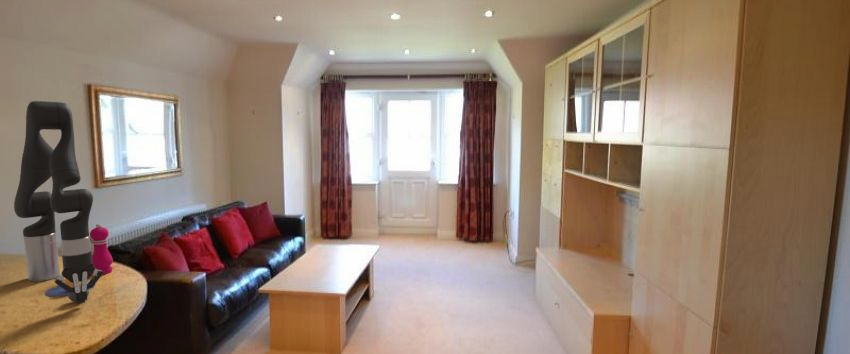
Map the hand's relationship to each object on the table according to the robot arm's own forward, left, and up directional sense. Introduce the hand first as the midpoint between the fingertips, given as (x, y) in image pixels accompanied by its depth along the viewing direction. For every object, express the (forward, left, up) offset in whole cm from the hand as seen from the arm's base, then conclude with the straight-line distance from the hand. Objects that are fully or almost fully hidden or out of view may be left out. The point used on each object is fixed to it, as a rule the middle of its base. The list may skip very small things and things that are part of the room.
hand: (81, 302), depth 142 cm
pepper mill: (-30, +19, -2) cm, 35 cm away
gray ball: (-5, +1, +1) cm, 6 cm away
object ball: (-17, +4, +1) cm, 18 cm away
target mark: (-20, +5, -2) cm, 21 cm away
